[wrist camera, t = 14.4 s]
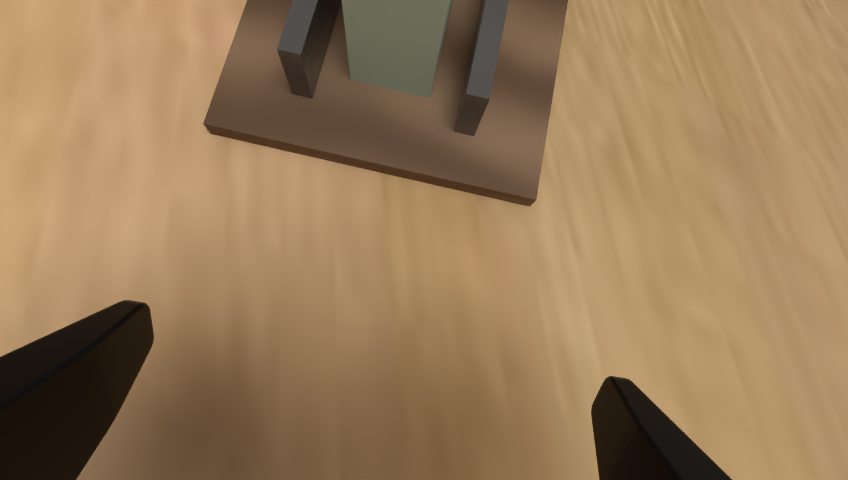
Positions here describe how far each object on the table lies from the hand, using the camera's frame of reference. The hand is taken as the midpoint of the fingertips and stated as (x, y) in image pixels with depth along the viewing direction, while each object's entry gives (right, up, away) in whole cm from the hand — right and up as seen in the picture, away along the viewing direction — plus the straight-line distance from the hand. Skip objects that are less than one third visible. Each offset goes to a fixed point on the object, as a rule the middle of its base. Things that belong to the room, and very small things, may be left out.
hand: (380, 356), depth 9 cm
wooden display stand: (0, +12, +16) cm, 20 cm away
